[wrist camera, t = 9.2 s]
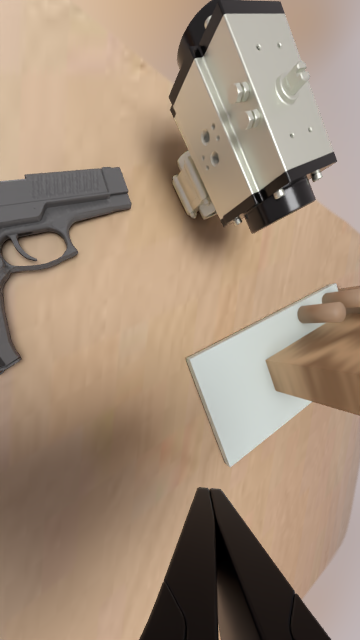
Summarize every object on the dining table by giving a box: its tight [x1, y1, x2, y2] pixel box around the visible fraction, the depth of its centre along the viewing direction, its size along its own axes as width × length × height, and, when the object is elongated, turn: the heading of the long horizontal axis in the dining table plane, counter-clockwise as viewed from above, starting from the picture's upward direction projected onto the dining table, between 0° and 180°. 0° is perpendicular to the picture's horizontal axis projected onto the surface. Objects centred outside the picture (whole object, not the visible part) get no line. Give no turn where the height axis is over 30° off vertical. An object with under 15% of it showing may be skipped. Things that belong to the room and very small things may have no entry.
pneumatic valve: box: [169, 0, 337, 234], centre depth 17 cm, size 6×12×12 cm, turn 31°
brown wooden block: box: [265, 314, 360, 415], centre depth 23 cm, size 13×4×9 cm, turn 113°
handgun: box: [0, 167, 131, 374], centre depth 16 cm, size 3×16×12 cm
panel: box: [186, 283, 360, 467], centre depth 25 cm, size 23×11×5 cm, turn 113°
